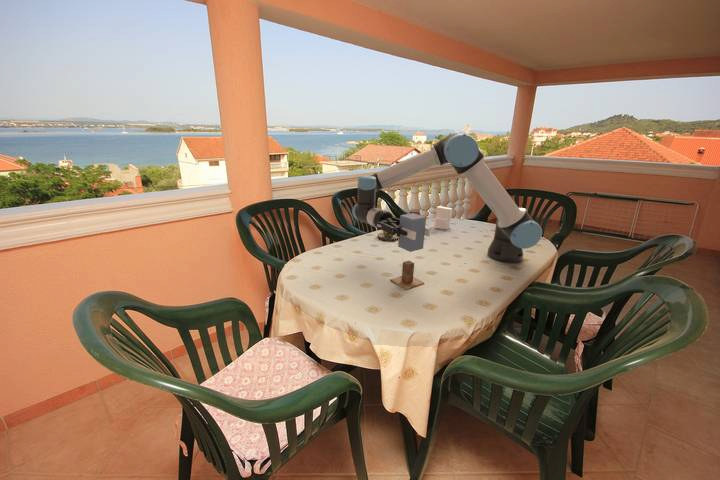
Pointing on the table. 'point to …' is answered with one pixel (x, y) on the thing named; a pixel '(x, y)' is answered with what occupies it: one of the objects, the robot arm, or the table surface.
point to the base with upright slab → (443, 217)
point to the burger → (387, 236)
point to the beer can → (415, 212)
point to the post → (407, 277)
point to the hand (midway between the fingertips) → (422, 234)
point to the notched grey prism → (414, 224)
